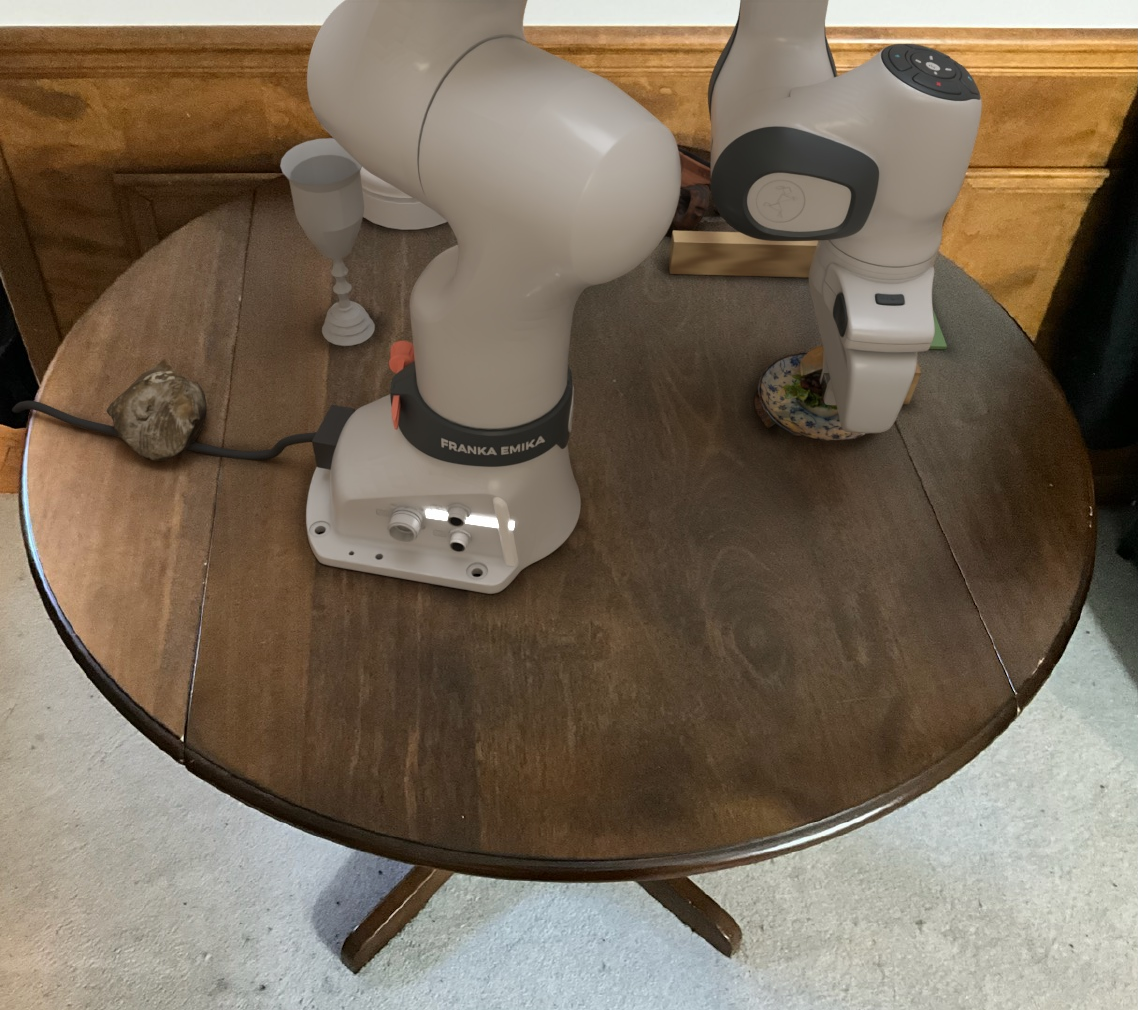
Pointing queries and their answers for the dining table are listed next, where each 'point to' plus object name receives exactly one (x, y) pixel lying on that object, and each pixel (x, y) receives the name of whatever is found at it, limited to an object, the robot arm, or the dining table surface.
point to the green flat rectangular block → (938, 336)
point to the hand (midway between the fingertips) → (830, 394)
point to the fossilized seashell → (159, 413)
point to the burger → (799, 398)
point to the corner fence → (744, 260)
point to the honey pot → (394, 206)
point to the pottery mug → (692, 191)
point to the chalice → (331, 224)
